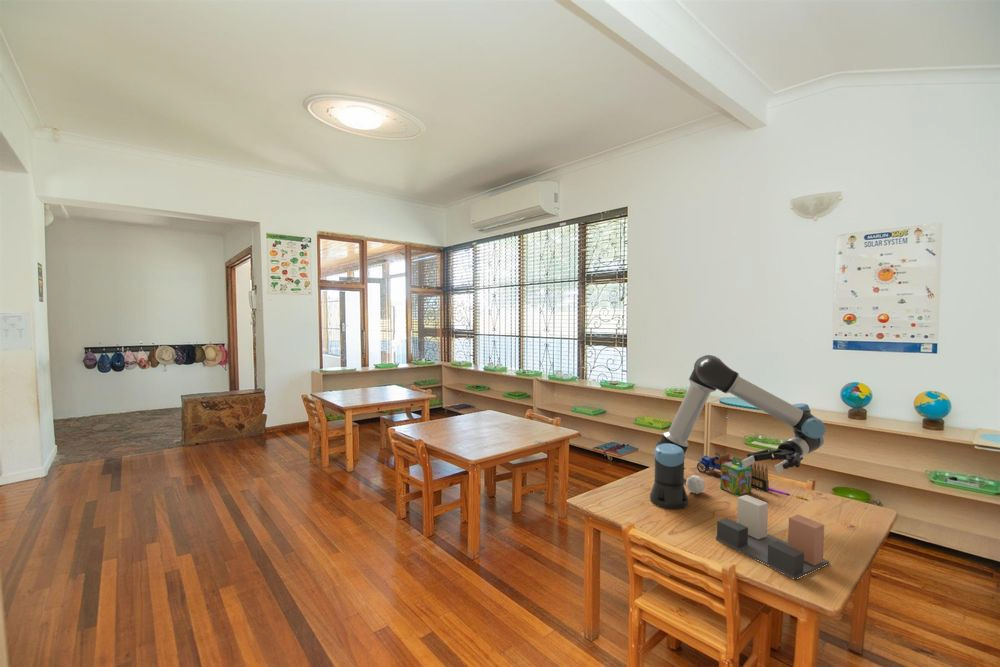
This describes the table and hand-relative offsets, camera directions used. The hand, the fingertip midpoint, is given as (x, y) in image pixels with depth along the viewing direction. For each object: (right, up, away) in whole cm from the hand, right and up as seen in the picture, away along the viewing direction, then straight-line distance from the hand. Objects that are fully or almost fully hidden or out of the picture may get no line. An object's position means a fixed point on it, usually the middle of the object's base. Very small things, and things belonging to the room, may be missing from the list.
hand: (758, 466), depth 169 cm
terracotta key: (0, -22, -25) cm, 33 cm away
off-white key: (-8, -21, -9) cm, 24 cm away
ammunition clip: (+19, -20, +35) cm, 45 cm away
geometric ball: (-11, -21, +29) cm, 38 cm away
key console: (-8, -23, -19) cm, 31 cm away
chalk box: (+8, -20, +31) cm, 38 cm away
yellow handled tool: (+29, -21, +27) cm, 45 cm away
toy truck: (+11, -20, +48) cm, 53 cm away
